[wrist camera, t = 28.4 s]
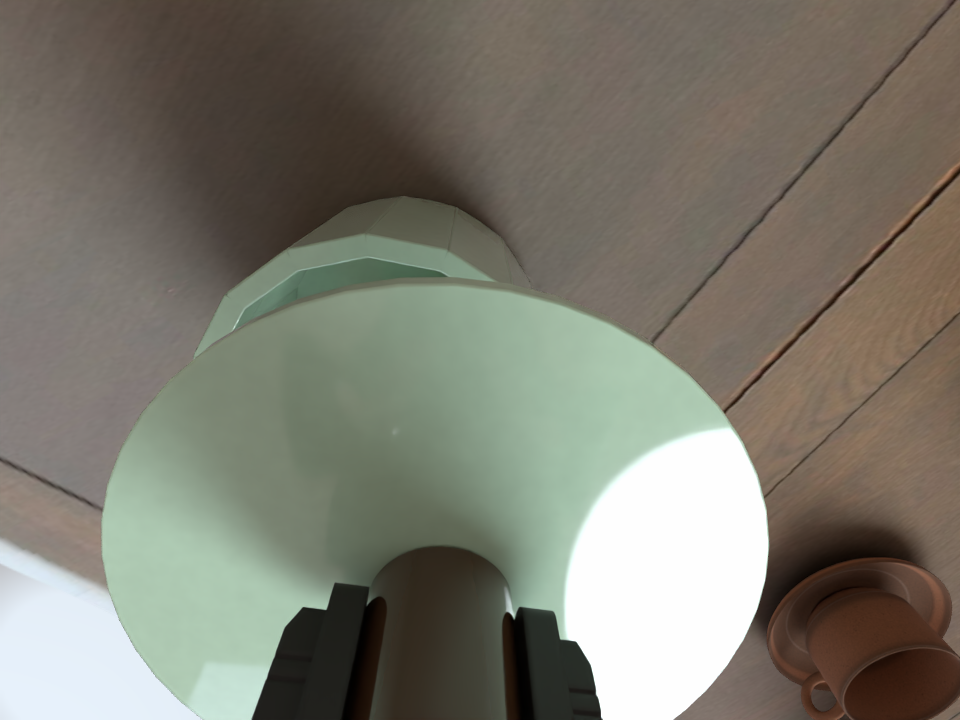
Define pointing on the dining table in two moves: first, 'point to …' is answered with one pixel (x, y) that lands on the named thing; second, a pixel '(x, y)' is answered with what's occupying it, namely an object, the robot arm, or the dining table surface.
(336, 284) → the jar
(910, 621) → the cup and saucer
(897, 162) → the dining table surface
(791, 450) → the dining table surface
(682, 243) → the dining table surface
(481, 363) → the jar lid
